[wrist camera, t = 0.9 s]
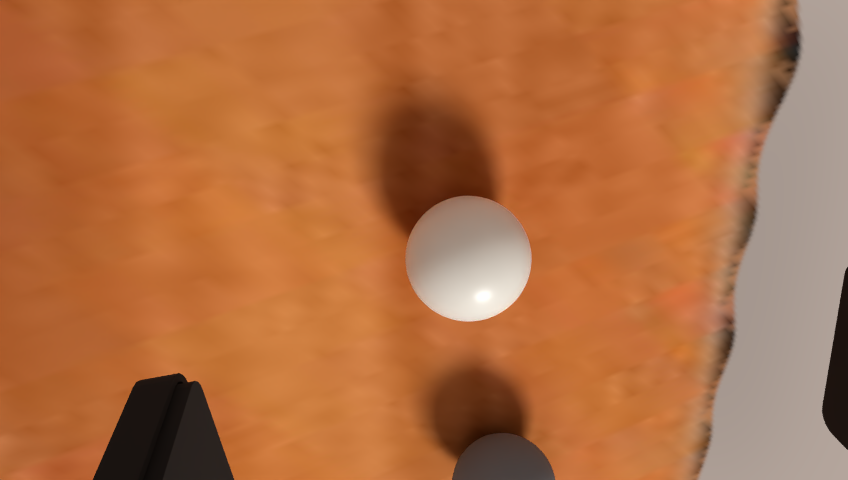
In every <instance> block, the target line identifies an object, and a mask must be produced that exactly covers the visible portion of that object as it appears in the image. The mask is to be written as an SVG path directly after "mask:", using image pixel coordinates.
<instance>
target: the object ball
mask: <svg viewBox="0 0 848 480" xmlns="http://www.w3.org/2000/svg"><path fill="white" fill-rule="evenodd" d="M452 480H555V476H554V473H553V470H552V467H551V465H550V463H549V461H548V459H547V458H546V456H545V455H544V454H543V452H542V451H541V450H540V449H539V448H538V447H537V446H536V445H534V444H533V443H532V442H530V441H529V440H527V439H525V438H523V437H521V436H518V435H515V434H510V433H494V434H489V435H486V436H483V437H481V438H479V439H478V440H476V441H474V442H473V443H472V444H470V445H469V446H468V447H467V448H466V449H465V451H464V452H463V453H462V454H461V456H460V458H459V459H458V461H457V464H456V466H455V469H454V473H453V478H452Z"/></svg>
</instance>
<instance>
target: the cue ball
mask: <svg viewBox="0 0 848 480" xmlns="http://www.w3.org/2000/svg"><path fill="white" fill-rule="evenodd" d="M405 260H406V270H407V274H408V278H409V280H410V283H411V285H412V287H413V289H414V291H415V292H416V294H417V295H418V297H419V298H420V299H421V300H422V301H423V303H425V304H426V305H427V306H428V307H429V308H430V309H432V310H433V311H435V312H436V313H438V314H440V315H442V316H444V317H447V318H450V319H453V320H458V321H479V320H484V319H487V318H490V317H493V316H495V315H497V314H499V313H501V312H502V311H504V310H505V309H507V308H508V307H509V306H510V305H512V304H513V303H514V301H515V300H516V299H517V298H518V297H519V295H520V294H521V293H522V291H523V289H524V287H525V285H526V283H527V280H528V278H529V274H530V269H531V248H530V243H529V240H528V237H527V234H526V232H525V230H524V228H523V226H522V225H521V223H520V222H519V221H518V219H517V218H516V217H515V216H514V215H513V214H512V213H511V212H510V211H509V210H508V209H506V208H505V207H504V206H502V205H500V204H499V203H497V202H495V201H492V200H490V199H487V198H483V197H478V196H458V197H453V198H450V199H447V200H444V201H442V202H440V203H438V204H436V205H434V206H433V207H432V208H430V209H429V210H428V211H427V212H426V213H424V214H423V215H422V217H421V218H420V219H419V220H418V222H417V223H416V225H415V226H414V228H413V230H412V232H411V234H410V236H409V239H408V243H407V248H406V259H405Z"/></svg>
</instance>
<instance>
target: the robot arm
mask: <svg viewBox="0 0 848 480" xmlns="http://www.w3.org/2000/svg"><path fill="white" fill-rule="evenodd" d="M822 407H823V408H822V413H823V418H824V421H825V424H826V426H827V427H828V429H829V431H830V432H831V433H832V434H833V435H834V436H835V437H836V438H837V440H838V441H839V442H840V443H841V444H842V445H843V446H844V447H845V448H846V449H847V450H848V267H847V269H846V271H845V275H844V281H843V287H842V293H841V298H840V304H839V310H838V316H837V323H836V328H835V335H834V341H833V346H832V353H831V358H830V364H829V370H828V376H827V382H826V388H825V394H824V400H823V406H822ZM93 480H234V478H233V475H232V472H231V469H230V467H229V464H228V461H227V458H226V455H225V452H224V450H223V447H222V444H221V441H220V438H219V435H218V432H217V430H216V427H215V424H214V421H213V418H212V415H211V412H210V410H209V407H208V404H207V401H206V398H205V395H204V392H203V390H202V387H201V385H200V384H199V382H197V381H193V382H187V380H186V378H185V377H184V376H183V375H182V374H180V373H178V374H172V375H167V376H161V377H155V378H150V379H144V380H140V381H138V382H136V384H135V385H134V387H133V389H132V391H131V393H130V396H129V398H128V400H127V403H126V405H125V407H124V409H123V412H122V414H121V416H120V419H119V421H118V423H117V425H116V428H115V430H114V432H113V435H112V437H111V439H110V442H109V444H108V446H107V448H106V451H105V453H104V455H103V458H102V460H101V462H100V464H99V467H98V469H97V471H96V474H95V476H94V478H93Z"/></svg>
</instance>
